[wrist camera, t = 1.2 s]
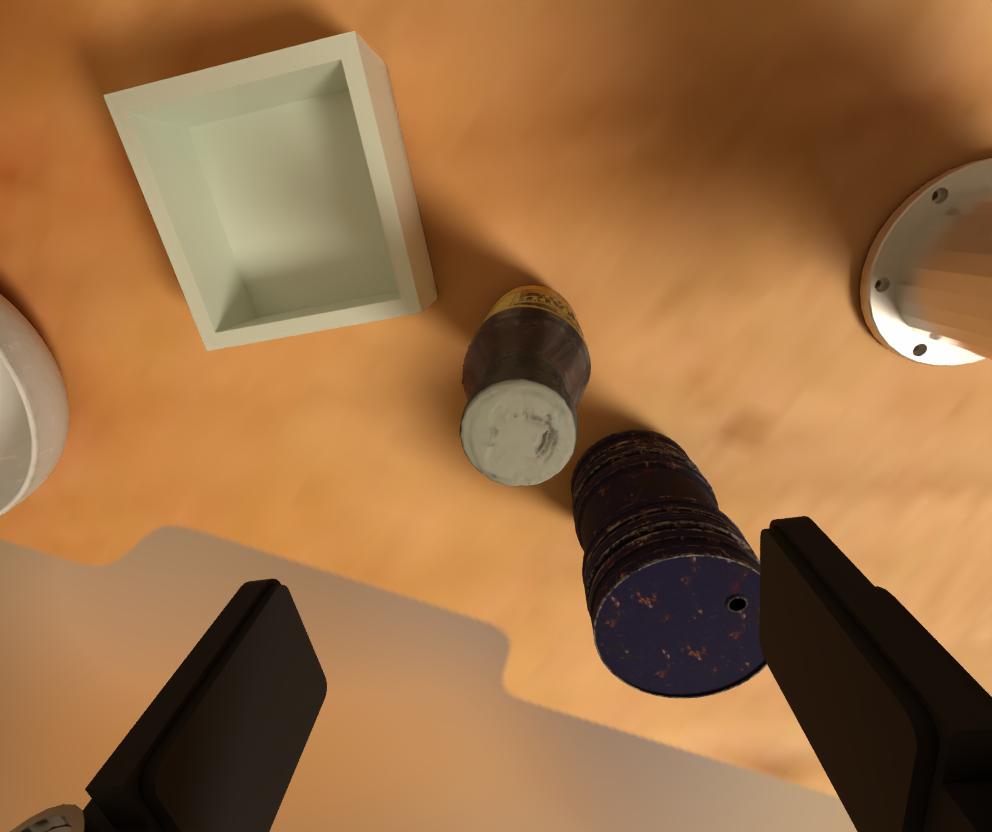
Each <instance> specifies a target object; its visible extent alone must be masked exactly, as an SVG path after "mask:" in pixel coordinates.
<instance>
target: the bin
mask: <svg viewBox="0 0 992 832" xmlns="http://www.w3.org/2000/svg"><path fill="white" fill-rule="evenodd" d="M103 96H104V99H105V101H106V104H107V106H108V109H109V111H110V113H111V116H112V118H113V121H114V123H115V126H116V128H117V131H118V133H119V136H120V138H121V141H122V143H123V146H124V148H125V150H126V153H127V155H128V158H129V160H130V163H131V165H132V168H133V170H134V173H135V175H136V178H137V180H138V182H139V185H140V187H141V190H142V192H143V195H144V197H145V200H146V202H147V205H148V207H149V210H150V212H151V215H152V217H153V219H154V222H155V224H156V227H157V229H158V232H159V234H160V237H161V239H162V242H163V244H164V247H165V249H166V251H167V254H168V256H169V259H170V261H171V264H172V266H173V269H174V271H175V274H176V276H177V279H178V281H179V284H180V286H181V288H182V291H183V293H184V296H185V298H186V301H187V303H188V306H189V308H190V311H191V313H192V316H193V318H194V321H195V323H196V325H197V328H198V330H199V333H200V335H201V338H202V340H203V343H204V345H205V348H206V350H207V351H210V350H216V349H221V348H227V347H233V346H238V345H244V344H249V343H255V342H261V341H266V340H272V339H277V338H283V337H289V336H294V335H300V334H305V333H311V332H317V331H322V330H328V329H333V328H339V327H345V326H350V325H356V324H361V323H367V322H373V321H378V320H384V319H389V318H395V317H401V316H406V315H412V314H417V313H422V312H423V311H424V310H425V309H426V308H427V307H429V306H430V305H431V304H432V303H433V302H434V301H435V300H436V299H437V298H438V295H437V290H436V286H435V281H434V277H433V272H432V268H431V263H430V259H429V254H428V250H427V245H426V241H425V236H424V232H423V227H422V223H421V218H420V214H419V210H418V205H417V201H416V196H415V192H414V187H413V183H412V178H411V174H410V169H409V165H408V160H407V156H406V151H405V147H404V142H403V138H402V133H401V129H400V124H399V120H398V115H397V111H396V106H395V102H394V97H393V93H392V88H391V84H390V80H389V75H388V71H387V66H386V64H385V62H384V61H383V60H382V59H381V58H380V57H379V56H378V55H377V54H376V53H375V52H374V51H373V50H372V49H371V48H370V46H369V45H368V44H367V43H366V42H365V41H364V40H363V39H362V38H361V37H360V36H359V35H358V34H357V33H356V32H355V30H354V31H351V32H347V33H343V34H339V35H335V36H331V37H327V38H323V39H319V40H316V41H312V42H308V43H304V44H300V45H296V46H292V47H288V48H284V49H281V50H277V51H273V52H269V53H265V54H261V55H257V56H253V57H249V58H245V59H242V60H238V61H234V62H230V63H226V64H222V65H218V66H214V67H210V68H207V69H203V70H199V71H195V72H191V73H187V74H183V75H179V76H175V77H172V78H168V79H164V80H160V81H156V82H152V83H148V84H144V85H140V86H136V87H133V88H129V89H125V90H121V91H117V92H113V93H109V94H105V95H103Z"/></svg>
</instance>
